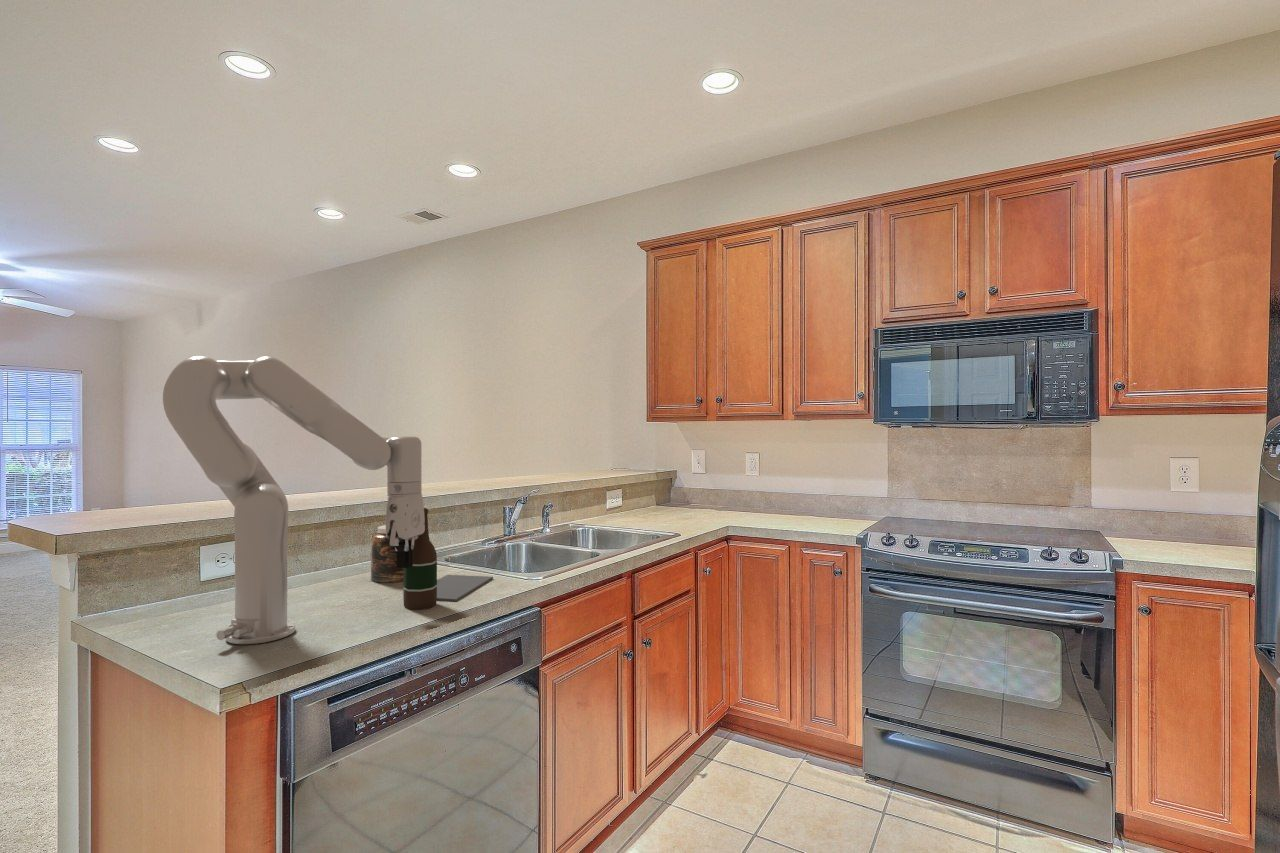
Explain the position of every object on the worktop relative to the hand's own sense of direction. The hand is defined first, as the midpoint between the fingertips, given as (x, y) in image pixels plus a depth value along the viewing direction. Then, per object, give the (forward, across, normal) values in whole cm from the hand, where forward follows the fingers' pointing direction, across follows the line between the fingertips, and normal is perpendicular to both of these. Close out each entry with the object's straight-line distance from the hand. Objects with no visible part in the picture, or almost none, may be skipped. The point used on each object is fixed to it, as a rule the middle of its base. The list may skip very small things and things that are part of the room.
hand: (404, 567), depth 148 cm
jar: (+12, +32, +22) cm, 41 cm away
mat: (+11, +24, 0) cm, 27 cm away
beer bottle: (+11, +8, 0) cm, 14 cm away
